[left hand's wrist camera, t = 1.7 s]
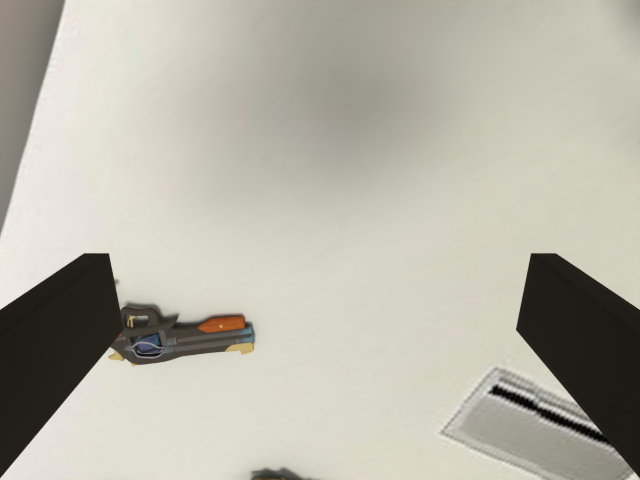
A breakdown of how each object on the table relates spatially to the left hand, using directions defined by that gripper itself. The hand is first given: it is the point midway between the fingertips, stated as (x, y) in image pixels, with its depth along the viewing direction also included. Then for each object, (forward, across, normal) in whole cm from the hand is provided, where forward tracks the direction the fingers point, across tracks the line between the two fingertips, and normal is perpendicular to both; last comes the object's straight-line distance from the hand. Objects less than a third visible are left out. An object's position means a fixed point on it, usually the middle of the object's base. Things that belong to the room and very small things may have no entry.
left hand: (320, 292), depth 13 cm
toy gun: (+28, -17, -18) cm, 37 cm away
